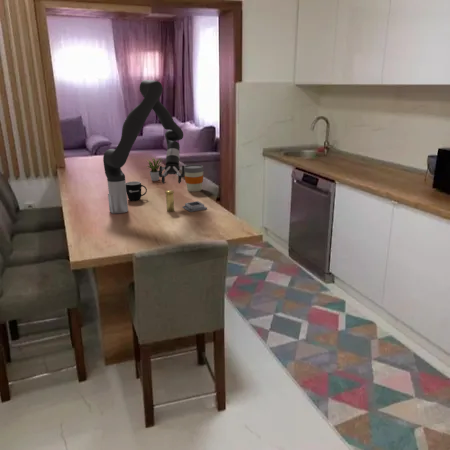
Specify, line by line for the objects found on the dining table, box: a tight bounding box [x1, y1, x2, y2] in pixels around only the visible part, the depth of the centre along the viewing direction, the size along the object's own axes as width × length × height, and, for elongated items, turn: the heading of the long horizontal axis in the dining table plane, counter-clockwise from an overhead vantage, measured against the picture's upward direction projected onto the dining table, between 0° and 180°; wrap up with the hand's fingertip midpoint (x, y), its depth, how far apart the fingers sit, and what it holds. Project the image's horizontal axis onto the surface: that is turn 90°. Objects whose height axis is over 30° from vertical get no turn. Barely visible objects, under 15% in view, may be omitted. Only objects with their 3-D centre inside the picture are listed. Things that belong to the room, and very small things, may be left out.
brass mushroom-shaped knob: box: [164, 189, 175, 213], centre depth 233 cm, size 5×5×11 cm
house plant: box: [145, 157, 163, 182], centre depth 303 cm, size 14×14×16 cm
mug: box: [126, 180, 148, 202], centre depth 256 cm, size 12×9×10 cm
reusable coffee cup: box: [183, 164, 205, 192], centre depth 275 cm, size 13×13×15 cm
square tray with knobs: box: [182, 200, 208, 213], centre depth 237 cm, size 10×10×3 cm
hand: (171, 182), depth 239 cm, fingers open, 8 cm apart
